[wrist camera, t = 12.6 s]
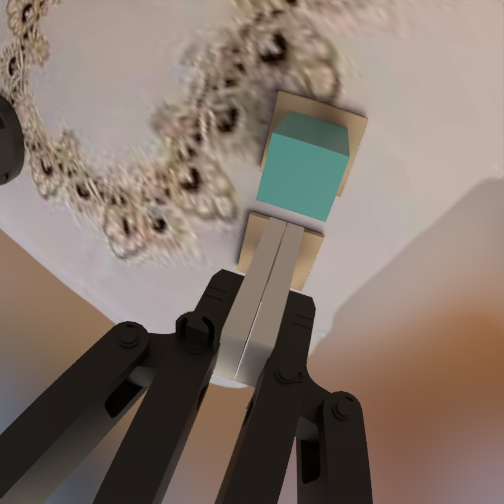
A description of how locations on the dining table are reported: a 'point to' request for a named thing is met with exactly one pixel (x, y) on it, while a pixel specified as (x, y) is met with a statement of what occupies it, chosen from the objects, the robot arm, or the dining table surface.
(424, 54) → the dining table surface
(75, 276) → the dining table surface
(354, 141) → the post
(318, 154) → the teal rectangular block
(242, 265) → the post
